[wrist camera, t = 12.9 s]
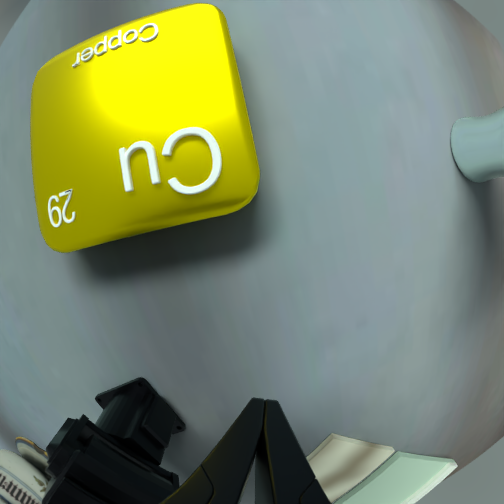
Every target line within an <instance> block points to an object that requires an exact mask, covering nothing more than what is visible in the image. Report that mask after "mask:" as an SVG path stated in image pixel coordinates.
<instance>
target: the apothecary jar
mask: <svg viewBox="0 0 504 504" xmlns="http://www.w3.org/2000/svg"><path fill="white" fill-rule="evenodd" d="M16 446H17V449H18V451H19V452H20V454H21V455H22V457H21V456H20V455H18V454H16V453H14V452H11V451H8V450H0V504H42V499H43V496H44V493H45V491H46V488H47V485H48V483H49V481H50V480H49V479H51V478H52V477H51V476H50V475H49V474H47V473H46V472H45V470H46V468H47V466H48V463H46V462H47V461H48V456H47V452H46V451H44V450H42V449H40V448H38V447H37V446H36V445H35V444H34V443H33V442H32V441H30V440H28V439H26V438H23V437H17V438H16Z"/></svg>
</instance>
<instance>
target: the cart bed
mask: <svg viewBox="0 0 504 504" xmlns="http://www.w3.org/2000/svg"><path fill="white" fill-rule="evenodd" d="M394 452H395V451H394V449H393V447H389V446H384V445H379V444H374V443H369V442H365V441H361V440H356V439H352V438H348V437H344V436H340V435H337V434H333V433H332V434H331V435H330V436H329V437H328V438H326V439H325V440H324V441H323V442H322V443H321V444H320V445H319V446H318V447H317V448H316V449H315V450H314V451H313V452H312V453H311V454H310V455H308V456H307V457H306V458H307V460H308V462H309V464H310V466H311V468H312V470H313V472H314V474H315V476H316V478H315V479H318V481H319V483H320V485H321V487H322V489H323V490H324V492H325V494H326V495H327V497H328V499H329V500H330V502H331V503H332V502H333V501H335V500H336V499H338V498H339V497H340V496H342V495H343V494H344V493H346V492H347V491H349V490H350V489H351V488H353V487H354V486H355V485H356V484H358V483H359V482H360V481H361V480H363V479H364V478H365V477H366V476H368V475H369V474H370V473H371V472H372V471H374V470H375V469H376V468H377V467H378V466H379V465H380V464H382V463H383V462H384V461H385V460H386V459H387V458H388V457H389V456H390V455H391V454H392V453H394Z"/></svg>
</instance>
